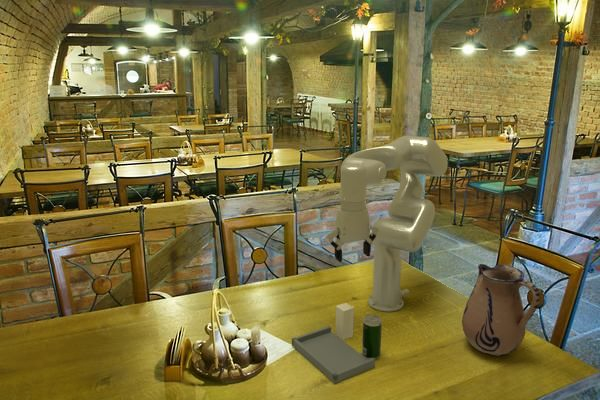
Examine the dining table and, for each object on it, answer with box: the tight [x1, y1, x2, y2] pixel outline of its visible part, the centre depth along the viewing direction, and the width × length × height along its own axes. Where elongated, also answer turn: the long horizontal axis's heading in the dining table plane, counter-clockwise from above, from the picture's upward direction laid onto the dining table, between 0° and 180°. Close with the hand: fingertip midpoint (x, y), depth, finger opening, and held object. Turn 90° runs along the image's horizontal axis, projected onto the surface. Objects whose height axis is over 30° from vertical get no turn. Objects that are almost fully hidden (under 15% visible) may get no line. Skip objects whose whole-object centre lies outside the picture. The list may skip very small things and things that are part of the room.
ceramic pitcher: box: [461, 263, 541, 357], centre depth 143 cm, size 18×21×25 cm
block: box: [334, 302, 355, 341], centre depth 153 cm, size 4×4×10 cm
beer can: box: [361, 313, 383, 360], centre depth 142 cm, size 5×5×12 cm
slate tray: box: [291, 325, 376, 384], centre depth 143 cm, size 14×22×2 cm, turn 32°
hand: (352, 257), depth 151 cm, fingers open, 9 cm apart
